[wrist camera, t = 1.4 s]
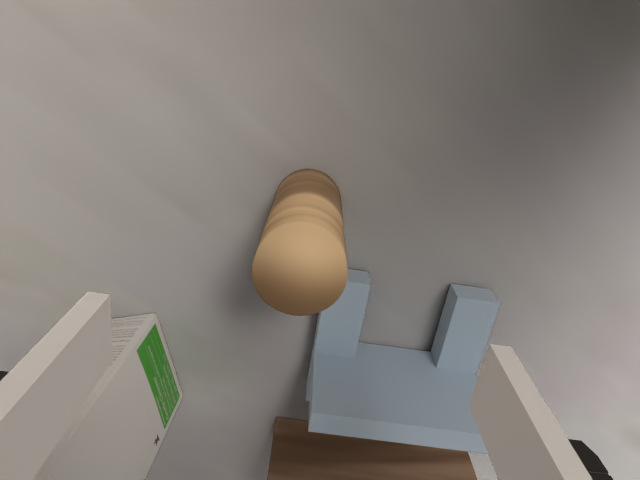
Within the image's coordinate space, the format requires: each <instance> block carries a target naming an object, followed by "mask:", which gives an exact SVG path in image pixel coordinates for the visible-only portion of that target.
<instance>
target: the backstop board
mask: <svg viewBox="0 0 640 480" xmlns="http://www.w3.org/2000/svg"><path fill="white" fill-rule="evenodd" d="M308 424H309V421H305V420H298V419H290V418H282V417H276V421H275V428H274V434H273V441H272V449H271V456H270V463H269V471H268V478H267V480H477V478H476V475H475V472H474V469H473V466H472V463H471V460H470V457H469V455H468V452H467V451H460V450H452V449H444V448H436V447H428V446H420V445H412V444H404V443H396V442H388V441H380V440H372V439H365V438H357V437H349V436H341V435H333V434H325V433H317V432H309V431H308Z"/></svg>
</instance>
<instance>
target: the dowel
mask: <svg viewBox="0 0 640 480" xmlns="http://www.w3.org/2000/svg"><path fill="white" fill-rule="evenodd" d="M347 276H348V271H347V260H346V249H345V238H344V228H343V217H342V206H341V196H340V192H339V189H338V187H337V185H336V183H335V182H334V181H333V180H332V179H331V178H330V177H329V176H328V175H326V174H325V173H323V172H321V171H318V170H314V169H302V170H298V171H295V172H293V173H291V174H290V175H288V176H287V177H286V178H285V179H284V180H283V181H282V182H281V184H280V185H279V187H278V190H277V193H276V196H275V199H274V202H273V205H272V207H271V210H270V213H269V216H268V219H267V222H266V225H265V228H264V231H263V234H262V237H261V240H260V243H259V246H258V249H257V251H256V254H255V257H254V260H253V264H252V279H253V283H254V286H255V288H256V290H257V292H258V294H259V295H260V297H261V298H262V299H263V300H264V301H265V302H266V303H267V304H268V305H270V306H271V307H273V308H274V309H276V310H278V311H280V312H283V313H286V314H290V315H298V316H304V315H312V314H316V313H319V312H321V311H323V310H325V309H327V308H329V307H330V306H331V305H333V304H334V303H335V302H336V301H337V300H338V299H339V297H340V296H341V294H342V293H343V291H344V289H345V286H346V283H347Z"/></svg>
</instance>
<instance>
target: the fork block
mask: <svg viewBox="0 0 640 480" xmlns="http://www.w3.org/2000/svg"><path fill="white" fill-rule="evenodd" d="M347 271H348V276H347V283H346V286H345V289H344V291H343V293H342V294H341V296H340V297H339V299H338V300H337V301H336V302H335V303H334V304H333V305H331V306H330V307H329V308H327V309H325V310H323V311H321V312H319V315H318V321H317V326H316V332H315V338H314V343H313V349H312V355H311V361H310V366H309V372H308V378H307V384H306V401H310V403H309V424H308V431H309V432H317V433H325V434H333V435H341V436H349V437H357V438H365V439H372V440H380V441H388V442H396V443H404V444H412V445H420V446H428V447H436V448H444V449H452V450H460V451H467V452H475V453H483V454H488V452H487V450H486V447H485V445H484V442H483V440H482V437H481V435H480V432H479V430H478V427H477V425H476V422H475V419H474V417H473V414H472V412H471V409H470V407H469V404H470V401H471V398H472V395H473V392H474V389H475V386H476V383H477V380H478V377H477V374H476V373H477V370H478V367H479V365H480V362H481V359H482V356H483V353H484V350H485V347H486V344H487V342H488V339H489V336H490V333H491V330H492V327H493V324H494V321H495V318H496V316H497V313H498V310H499V307H500V304H501V303H500V302H499V300H498V299H497V297H496V296H495V294H494V293H493V291H492V290H491V289H486V288H479V287H472V286H465V285H458V284H450V287H449V291H448V294H447V298H446V301H445V305H444V308H443V311H442V315H441V318H440V322H439V325H438V328H437V332H436V335H435V339H434V342H433V345H432V349H431V352H428V351H420V350H413V349H406V348H398V347H391V346H384V345H376V344H369V343H362V342H359V338H360V333H361V329H362V324H363V320H364V315H365V311H366V306H367V301H368V297H369V292H370V288H371V282H370V276H369V272H367V271H360V270H353V269H347Z"/></svg>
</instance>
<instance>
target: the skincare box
mask: <svg viewBox="0 0 640 480" xmlns="http://www.w3.org/2000/svg"><path fill="white" fill-rule="evenodd" d="M111 325H112V355H113V361H112V363H111V364H110V366H109V367H108V369H107V370H106V372H105V373H104V375H103V376H102V378H101V379H100V381H99V382H98V384H97V385H96V387H95V388H94V389H93V391H92V392H91V394H90V395H89V397H88V398H87V400H86V401H85V403H84V404H83V406H82V407H81V409H80V410H79V412H78V413H77V415H76V416H75V417H74V419H73V420H72V422H71V423H70V425H69V426H68V428H67V429H66V431H65V432H64V434H63V435H62V437H61V438H60V440H59V441H58V443H57V444H56V445H55V447H54V448H53V450H52V451H51V453H50V454H49V456H48V457H47V459H46V460H45V462H44V463H43V465H42V466H41V468H40V469H39V471H38V472H37V473H36V475H35V476H34V478H33V479H32V480H145V479H146V476H147V474H148V472H149V470H150V468H151V466H152V463H153V461H154V459H155V457H156V455H157V453H158V450H159V448H160V446H161V444H162V442H163V439H164V437H165V435H166V433H167V431H168V429H169V426H170V424H171V422H172V420H173V418H174V415H175V413H176V411H177V409H178V407H179V404H180V402H181V400H182V398H183V393H182V390H181V387H180V385H179V382H178V378H177V375H176V371H175V368H174V365H173V362H172V360H171V357H170V354H169V351H168V348H167V345H166V342H165V339H164V336H163V333H162V330H161V326H160V323H159V320H158V317H157V315H156V313H151V314H143V315H136V316H128V317H121V318H113V319H111Z"/></svg>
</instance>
